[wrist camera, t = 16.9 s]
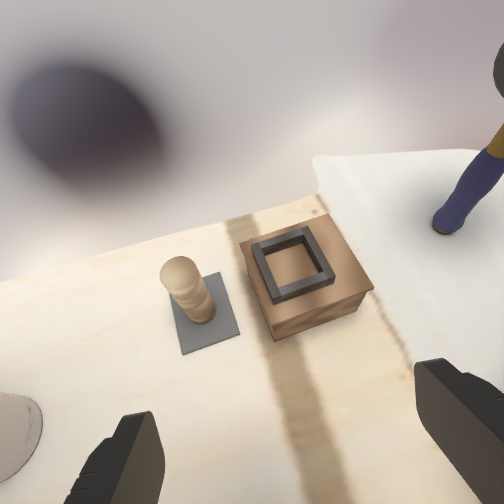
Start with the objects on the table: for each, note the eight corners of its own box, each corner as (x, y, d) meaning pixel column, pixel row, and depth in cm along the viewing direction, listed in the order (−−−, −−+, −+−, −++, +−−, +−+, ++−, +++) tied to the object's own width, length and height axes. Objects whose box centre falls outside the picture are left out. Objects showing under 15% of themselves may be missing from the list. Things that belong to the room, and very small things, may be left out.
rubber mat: (183, 355, 41) (182, 354, 40) (169, 290, 46) (168, 289, 46) (240, 334, 42) (239, 333, 41) (220, 273, 47) (219, 271, 46)
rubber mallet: (451, 194, 51) (618, -52, 26) (491, 223, 47) (733, -29, 22) (395, 229, 48) (519, -6, 23) (434, 263, 45) (633, 29, 19)
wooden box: (273, 344, 41) (270, 318, 32) (245, 272, 47) (237, 234, 38) (359, 312, 42) (378, 279, 33) (321, 245, 48) (330, 203, 39)
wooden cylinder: (194, 329, 42) (167, 296, 32) (184, 305, 44) (154, 266, 34) (221, 315, 43) (202, 278, 32) (209, 292, 45) (188, 250, 34)
